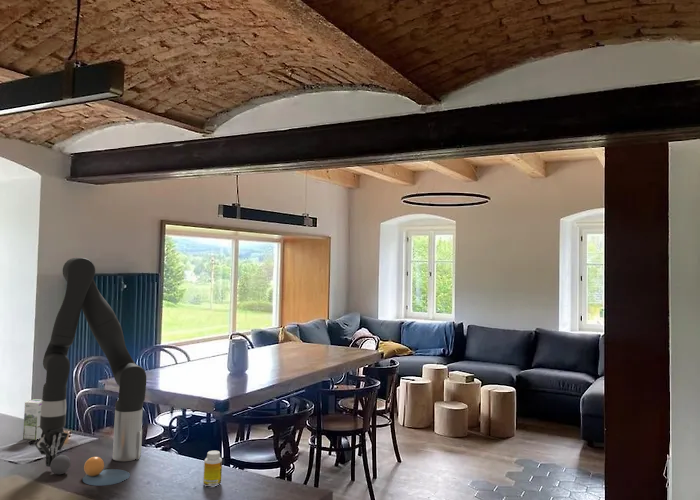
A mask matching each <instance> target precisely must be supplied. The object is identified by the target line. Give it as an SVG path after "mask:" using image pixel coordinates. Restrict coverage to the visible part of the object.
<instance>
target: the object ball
mask: <svg viewBox="0 0 700 500" xmlns="http://www.w3.org/2000/svg"><path fill="white" fill-rule="evenodd" d="M104 468H105V462H104V460H103V459H102V457H100V456H92V457H90V458H88V459H87V460H86V461H85V462H84V466H83V471H84V473H85V475H89V476H97V475H99V474H100V473H101V472H102V471H103V470H105V469H104Z"/></svg>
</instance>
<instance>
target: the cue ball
mask: <svg viewBox="0 0 700 500" xmlns="http://www.w3.org/2000/svg"><path fill="white" fill-rule="evenodd" d="M71 464H72V462H71V459H70V457H69V456H68V455H65V454H59V455H56V457H55V458H54V459H53V460H52V461H51V464H50V467H49V469H50V471H51V472H52V473H53V474H55V475H63V474H65V473H67V472H68V471H69V470H70V468H71Z"/></svg>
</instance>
